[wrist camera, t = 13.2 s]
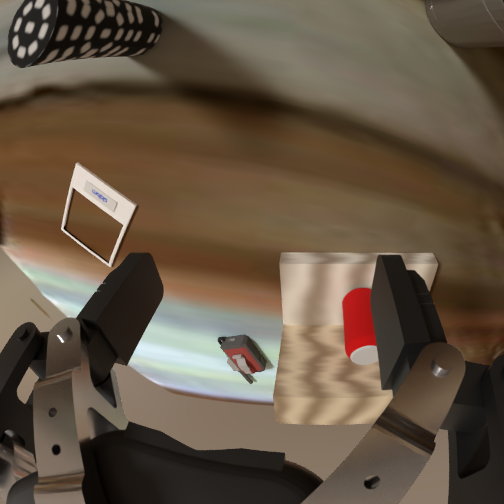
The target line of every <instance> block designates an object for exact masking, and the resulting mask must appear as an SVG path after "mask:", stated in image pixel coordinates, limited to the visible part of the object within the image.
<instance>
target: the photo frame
mask: <svg viewBox="0 0 504 504" xmlns="http://www.w3.org/2000/svg"><path fill="white" fill-rule="evenodd" d="M73 188H74V189H76V190H77V191H78V192H80V193H81V194H82V195H84V196H85V197H86V198H87V199H89V200H90V201H91V202H93V203H94V204H96V205H97V206H98V207H100V208H101V209H102V210H104V211H105V212H106V213H108V214H109V215H110V216H112V217H113V218H115V219H116V220H117V221H119V222H120V223H122V224H123V228H122V230H121V233H120V235H119V238H118V240H117V243H116V245H115V248H114V250H113V253H112V256H111V258H110V261H109V264H108V263H107V262H106V261H104V260H103V259H102V258H100V257H99V256H98V255H96V254H95V253H93V252H92V251H91V250H90V249H88V248H87V247H86V246H84V245H83V244H82V243H80V242H79V241H78V240H77V239H75V238H74V237H73V236H71V235H70V234H69V233H68V232H66V231H65V230H64V226H65V225H66V220H67V215H68V210H69V205H70V201H71V197H72V192H73ZM136 206H137V204H135V203H134V202H132V201H131V200H130V199H128V198H127V197H125V196H124V195H123V194H121V193H120V192H118V191H117V190H116V189H114V188H113V187H111V186H110V185H109V184H107V183H106V182H104V181H103V180H102V179H100V178H99V177H97V176H96V175H95V174H93V173H92V172H91V171H89V170H88V169H86V168H85V167H84V166H82V165H81V164H80V163H78V162H77V163H76V166H75V169H74V173H73V177H72V181H71V185H70V189H69V193H68V197H67V202H66V207H65V212H64V217H63V222H62V228H61V230H62V231H63V232H65V233H66V234H67V235H68V236H70V237H71V238H72V239H73V240H75V241H76V242H77V243H79V244H80V245H81V246H82V247H84V248H85V249H86V250H88V251H89V252H90V253H92V254H93V255H94V256H96V257H97V258H98V259H100V260H101V261H102V262H104V263H105V264H106V265H108V266H109V267H111V266H112V263H113V260H114V258H115V255H116V253H117V250H118V248H119V245H120V243H121V240H122V238H123V236H124V233H125V231H126V228H127V226H128V224H129V222H130V219H131V217H132V215H133V213H134V210H135V208H136Z"/></svg>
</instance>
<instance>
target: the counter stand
mask: <svg viewBox="0 0 504 504" xmlns="http://www.w3.org/2000/svg"><path fill="white" fill-rule="evenodd" d="M378 255H401V256H402V259H403V261H404V264H405V266H406V269H407V270H415V271H416V272H417V273H418V274H419V275H420V276H421V277H422V278H423V279H424V280H425V283H426V285H427V288H428V290H429V291H430V288H431V285H432V282H433V279H434V276H435V273H436V270H437V267H438V262H437V260H436V258H435V256H434V255H433V253H295V252H281V258H280V277H281V293H282V309H283V331H282V339H281V346H280V354H279V361H278V368H277V374H276V381H275V388H274V394H273V399H274V407H275V415H276V422H277V423H289V424H318V425H320V424H322V425H325V424H327V425H329V424H330V425H333V424H334V425H336V424H364V423H375V422H376V420H377V419H378V418H379V416H380V415H381V414H382V413H383V411H384V410H385V409H386V407H387V406H388V404H389V403H390V401H391V400H392V398H393V393H392V390H382V389H381V379H380V369H379V360H378V361H376V362H374V363H372V364H368V365H358V364H355V363H353V362H352V361H351V360H350V359H349V358H348V356H347V355H346V352H345V342H344V324H343V310H342V301H343V298H344V297H345V295H346V294H347V293H348V292H349V291H351V290H352V289H355V288H358V287H368V288H372V283H373V278H374V272H375V267H376V261H377V257H378Z"/></svg>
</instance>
